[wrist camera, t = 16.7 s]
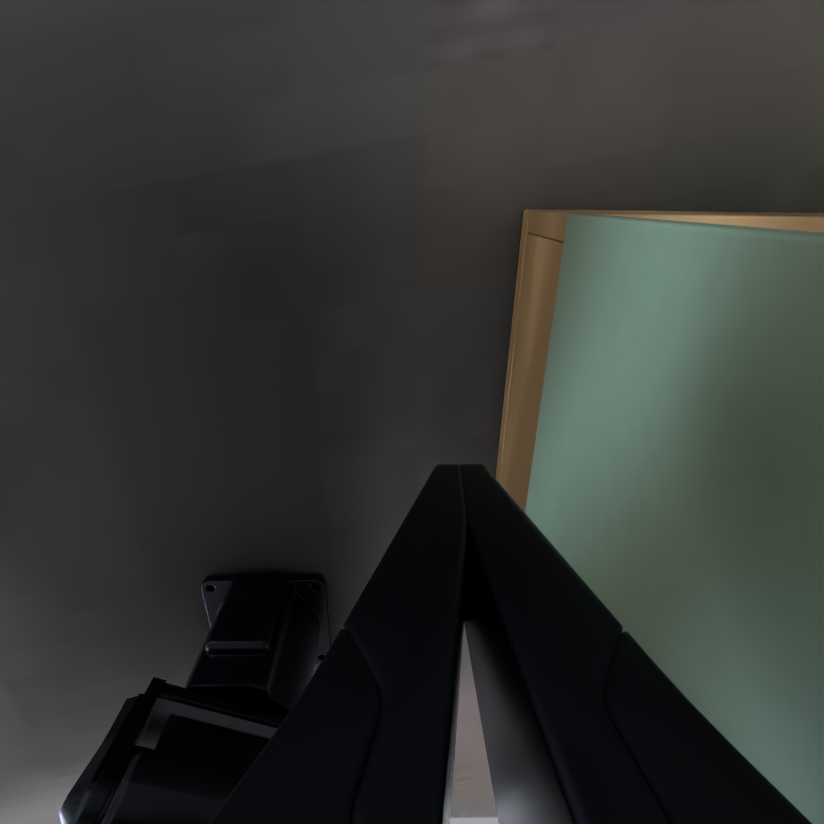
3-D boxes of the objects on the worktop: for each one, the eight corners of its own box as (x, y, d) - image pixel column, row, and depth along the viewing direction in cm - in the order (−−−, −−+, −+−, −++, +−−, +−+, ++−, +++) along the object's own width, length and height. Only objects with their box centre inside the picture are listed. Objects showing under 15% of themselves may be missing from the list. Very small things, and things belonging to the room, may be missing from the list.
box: (883, 213, 18) (1078, 219, 13) (765, 502, 23) (866, 585, 18) (523, 209, 17) (574, 213, 12) (492, 503, 23) (518, 589, 18)
